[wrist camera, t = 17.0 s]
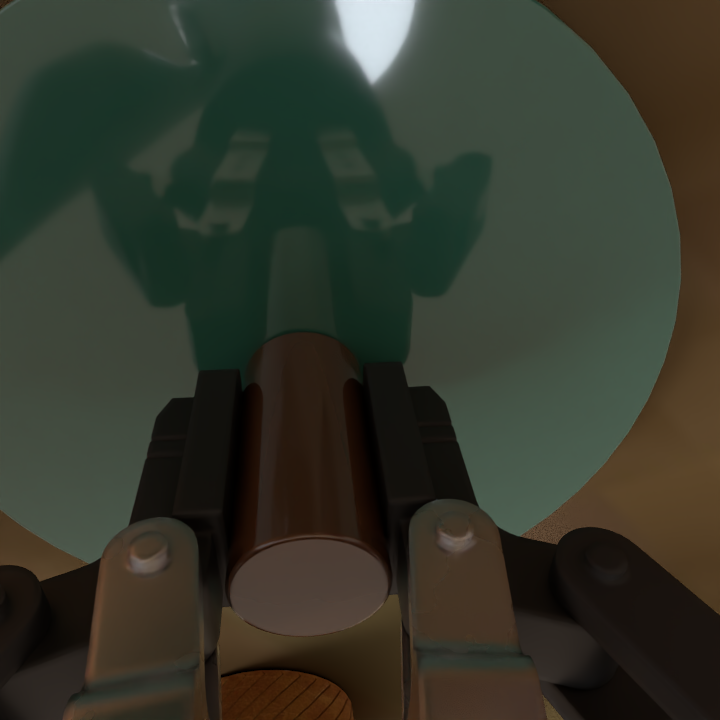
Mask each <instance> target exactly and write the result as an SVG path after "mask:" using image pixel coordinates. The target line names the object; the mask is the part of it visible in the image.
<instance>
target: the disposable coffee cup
mask: <svg viewBox="0 0 720 720" xmlns="http://www.w3.org/2000/svg"><path fill="white" fill-rule="evenodd" d="M221 693H222V717H223V720H354V717H353V711H352V705H351V701H350V699H349V698H348V696H347V695H346V693H345V692H344V691H343V690H342V689H340V688H339V687H338V686H337V685H335V684H334V683H332V682H330V681H328V680H326V679H323V678H320V677H318V676H315V675H311V674H306V673H302V672H296V671H289V670H260V671H251V672H243V673H238V674H235V675H231V676H227V677H223V678H221Z"/></svg>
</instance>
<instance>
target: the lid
mask: <svg viewBox="0 0 720 720" xmlns="http://www.w3.org/2000/svg"><path fill="white" fill-rule="evenodd" d="M680 285H681V247H680V230H679V225H678V219H677V214H676V209H675V203H674V198H673V192H672V187H671V184H670V181H669V178H668V176H667V173H666V170H665V167H664V164H663V162H662V159H661V156H660V153H659V150H658V148H657V145H656V142H655V139H654V137H653V136H652V134H651V132H650V130H649V129H648V127H647V125H646V123H645V121H644V120H643V118H642V116H641V114H640V112H639V111H638V109H637V107H636V105H635V104H634V102H633V100H632V98H631V96H630V95H629V93H628V91H627V90H626V89H625V88H624V86H623V85H622V84H621V83H620V81H619V80H618V79H617V78H616V76H615V75H614V74H613V73H612V71H611V70H610V69H609V68H608V66H607V65H606V64H605V63H604V62H603V60H602V59H601V58H600V57H599V55H598V54H597V53H596V52H595V50H594V49H593V48H592V47H591V46H590V45H589V44H588V43H587V42H586V41H585V40H583V39H582V38H581V37H580V36H579V35H578V34H577V33H576V32H574V31H573V30H572V29H571V28H570V27H569V26H568V25H567V24H565V23H564V22H563V21H562V20H561V19H560V18H559V17H558V16H557V15H555V14H554V13H553V12H552V11H551V10H550V9H549V8H548V7H546V6H545V5H544V4H542V3H541V2H539V1H537V0H12V1H10V2H9V3H7V4H5V5H4V6H3V7H2V8H1V9H0V510H1V511H2V512H4V513H5V514H6V515H7V516H9V517H10V518H11V519H13V520H14V521H15V522H17V523H18V524H19V525H20V526H22V527H24V528H25V529H27V530H28V531H30V532H32V533H33V534H35V535H36V536H38V537H40V538H41V539H43V540H45V541H46V542H48V543H49V544H51V545H53V546H54V547H56V548H58V549H60V550H62V551H64V552H66V553H68V554H70V555H72V556H74V557H76V558H78V559H80V560H82V561H84V562H86V563H88V564H90V563H92V562H94V561H96V560H98V559H99V558H101V556H102V554H103V551H104V549H105V548H106V546H107V545H108V543H109V542H110V541H111V540H112V538H113V537H114V536H115V535H117V534H118V533H119V532H120V531H121V530H123V529H124V528H126V527H128V525H129V522H130V518H131V514H132V510H133V506H134V502H135V498H136V494H137V491H138V487H139V483H140V479H141V475H142V471H143V467H144V463H145V459H147V451H148V447H149V443H150V442H151V436H152V432H153V428H154V424H155V420H156V417H157V415H158V414H159V413H160V412H161V411H162V410H163V408H164V407H165V406H166V405H167V404H168V403H169V401H170V400H171V399H172V398H186V397H194V395H195V389H196V384H197V379H198V374H199V371H200V370H219V369H239V371H240V375H241V383H242V391H243V395H242V406H241V416H240V427H239V438H238V449H237V460H236V471H235V481H234V492H233V503H232V514H231V525H230V536H229V546H228V555H227V565H226V575H225V594H226V597H227V600H228V603H229V605H230V606H231V608H232V610H233V611H234V612H235V613H236V614H237V615H238V616H239V617H240V618H241V619H242V620H244V621H245V622H247V623H248V624H250V625H252V626H254V627H256V628H258V629H261V630H263V631H266V632H270V633H273V634H279V635H284V636H296V637H307V636H319V635H326V634H331V633H335V632H339V631H342V630H345V629H348V628H351V627H353V626H355V625H357V624H359V623H361V622H363V621H365V620H366V619H368V618H369V617H371V616H372V615H373V614H375V613H376V612H377V611H378V610H379V609H380V608H381V607H382V605H383V604H384V603H385V601H386V600H387V598H388V596H389V593H390V591H391V588H392V583H393V573H392V566H391V560H390V554H389V547H388V542H387V538H386V532H385V525H384V519H383V512H382V506H381V500H380V493H379V487H378V480H377V474H376V467H375V461H374V455H373V448H372V442H371V435H370V429H369V422H368V416H367V409H366V403H365V397H364V390H363V367H364V363H377V362H400V361H401V362H402V364H403V368H404V372H405V376H406V380H407V384H408V387H416V386H430V387H431V388H432V389H433V390H434V391H435V392H436V393H437V394H438V395H439V396H440V397H441V398H442V399H443V400H444V401H445V402H446V405H447V409H448V412H449V415H450V418H451V421H452V426H453V428H454V431H455V434H456V437H457V442H458V443H459V447H460V450H461V453H462V456H463V459H464V462H465V466H466V469H467V472H468V475H469V478H470V481H471V485H472V488H473V491H474V494H475V497H476V500H477V503H478V505H479V507H480V508H481V509H482V510H483V511H485V512H486V513H487V514H488V515H489V516H490V517H491V518H492V519H493V521H494V522H495V524H496V525H497V526H498V527H500V528H501V529H503V530H505V531H507V532H509V533H511V534H514V535H516V536H521V535H523V534H524V533H525V532H527V531H528V530H530V529H531V528H533V527H534V526H535V525H537V524H538V523H540V522H541V521H543V520H544V519H545V518H547V517H548V516H550V515H551V514H552V513H554V512H555V511H556V510H557V509H558V508H559V507H560V506H562V505H563V504H564V503H565V502H566V501H567V500H569V499H570V498H571V497H572V496H573V495H574V494H576V493H577V492H578V491H579V490H580V489H581V488H582V487H583V486H584V485H585V484H586V483H587V482H588V481H589V480H590V479H591V478H592V477H593V476H594V474H595V473H596V472H597V471H598V470H599V469H600V468H601V467H602V466H603V465H604V464H605V463H606V462H607V460H608V459H609V458H610V456H611V455H612V454H613V452H614V451H615V450H616V448H617V447H618V446H619V445H620V443H621V442H622V441H623V439H624V438H625V437H626V435H627V434H628V433H629V431H630V429H631V428H632V426H633V424H634V423H635V421H636V419H637V418H638V416H639V414H640V413H641V411H642V409H643V407H644V406H645V404H646V402H647V401H648V399H649V397H650V395H651V392H652V390H653V388H654V385H655V383H656V381H657V378H658V376H659V374H660V371H661V369H662V367H663V364H664V362H665V359H666V355H667V351H668V348H669V344H670V341H671V337H672V334H673V330H674V326H675V323H676V316H677V308H678V301H679V293H680Z"/></svg>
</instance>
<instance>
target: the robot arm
mask: <svg viewBox="0 0 720 720" xmlns="http://www.w3.org/2000/svg"><path fill="white" fill-rule="evenodd" d="M363 390H364V397H365V403H366V409H367V416H368V422H369V429H370V435H371V442H372V448H373V455H374V461H375V467H376V474H377V480H378V487H379V493H380V500H381V506H382V512H383V519H384V525H385V532H386V538H387V542H388V547H389V554H390V560H391V566H392V573H393V583H392V588H391V591H390V593H389V595H393V594H398V596H399V603H400V609H401V615H402V617H401V630H400V647H401V692H402V720H547V716H546V711H545V706H544V701H543V696H542V694H543V695H544V697H545V698H546V699H547V700H548V701H549V702H550V704H551V705H552V706H553V707H554V708H555V709H556V711H557V712H558V713H559V714H560V715H561V717H562V718H563V719H564V720H720V615H718V614H717V613H716V612H715V611H714V610H713V609H711V608H710V607H709V606H708V605H707V604H705V603H704V602H703V601H702V600H701V599H699V598H698V597H697V596H696V595H695V594H694V593H692V592H691V591H690V590H689V589H688V588H686V587H685V586H684V585H683V584H682V583H680V582H679V581H678V580H677V579H676V578H675V577H673V576H672V575H671V574H670V573H669V572H667V571H666V570H665V569H664V568H663V567H661V566H660V565H659V564H658V563H657V562H656V561H654V560H653V559H652V558H651V557H650V556H648V555H647V554H646V553H645V552H644V551H642V550H641V549H640V548H639V547H638V546H637V545H635V544H634V543H633V542H631V541H630V540H629V539H627V538H625V537H623V536H622V535H620V534H617V533H615V532H613V531H610V530H606V529H602V528H595V527H585V528H579V529H575V530H573V531H570V532H568V533H567V534H566V535H564V536H563V537H562V538H561V540H560V541H559V543H558V545H556V544H551V543H547V542H542V541H537V540H532V539H527V538H523V537H520V536H516V535H514V534H511V533H509V532H507V531H505V530H503V529H501V528H500V527H498V526H497V525H496V524H495V522H494V521H493V519H492V518H491V517H490V516H489V515H488V514H487V513H486V512H485V511H483V510H482V509H481V508H480V507H479V505H478V503H477V500H476V497H475V494H474V491H473V488H472V485H471V481H470V478H469V475H468V472H467V469H466V466H465V462H464V459H463V456H462V453H461V450H460V447H459V443H458V442H457V437H456V434H455V431H454V428H453V426H452V421H451V418H450V415H449V412H448V409H447V405H446V402H445V401H444V400H443V399H442V398H441V397H440V396H439V395H438V394H437V393H436V392H435V391H434V390H433V389H432V388H431V387H430V386H416V387H408V384H407V380H406V376H405V372H404V368H403V364H402V362H401V361H400V362H377V363H364V367H363ZM242 395H243V391H242V383H241V375H240V371H239V369H219V370H200V371H199V374H198V379H197V384H196V389H195V395H194V397H186V398H172V399H171V400H170V401H169V403H168V404H167V405H166V406H165V407H164V408H163V410H162V411H161V412H160V413H159V414H158V415H157V417H156V420H155V424H154V428H153V432H152V436H151V442H150V443H149V447H148V451H147V459H145V463H144V467H143V471H142V475H141V479H140V483H139V487H138V491H137V494H136V498H135V502H134V506H133V510H132V514H131V518H130V522H129V525H128V527H126V528H124V529H123V530H121V531H120V532H119V533H118V534H117V535H115V536H114V537H113V538H112V540H111V541H110V542H109V543H108V545H107V546H106V548H105V549H104V551H103V554H102V556H101V558H99V559H98V560H96V561H94V562H92V563H90V564H89V565H86V566H84V567H81V568H79V569H76V570H73V571H70V572H67V573H64V574H61V575H58V576H55V577H52V578H49V579H46V580H43V581H40V582H39V580H38V579H37V577H36V576H35V575H34V574H33V573H32V572H31V571H29V570H27V569H26V568H23V567H19V566H13V565H3V566H0V720H223V717H222V693H221V669H220V647H219V641H218V640H219V635H220V625H221V614H222V607H229V606H230V605H229V603H228V600H227V597H226V594H225V575H226V565H227V555H228V546H229V536H230V525H231V514H232V503H233V492H234V481H235V471H236V460H237V449H238V438H239V427H240V416H241V406H242Z"/></svg>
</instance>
